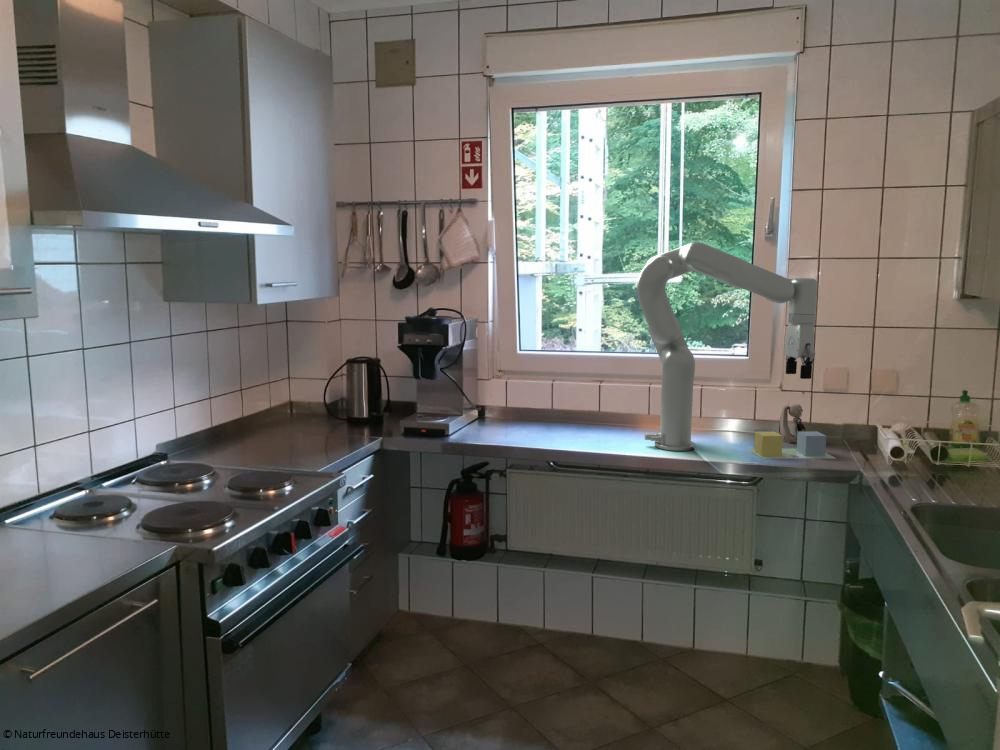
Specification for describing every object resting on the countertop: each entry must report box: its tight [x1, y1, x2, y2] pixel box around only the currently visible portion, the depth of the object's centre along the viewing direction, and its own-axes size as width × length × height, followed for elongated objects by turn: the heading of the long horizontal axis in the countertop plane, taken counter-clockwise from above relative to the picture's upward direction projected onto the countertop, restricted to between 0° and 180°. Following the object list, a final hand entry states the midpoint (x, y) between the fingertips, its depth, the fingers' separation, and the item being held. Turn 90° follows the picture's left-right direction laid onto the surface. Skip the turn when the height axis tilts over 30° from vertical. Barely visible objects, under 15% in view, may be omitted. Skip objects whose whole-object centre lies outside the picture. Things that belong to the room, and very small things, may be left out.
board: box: [747, 448, 837, 460], centre depth 230 cm, size 22×12×1 cm, turn 93°
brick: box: [753, 431, 784, 456], centre depth 229 cm, size 6×6×6 cm
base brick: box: [795, 430, 827, 456], centre depth 230 cm, size 6×6×6 cm
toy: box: [778, 401, 808, 444], centre depth 247 cm, size 9×8×15 cm
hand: (798, 376), depth 234 cm, fingers open, 9 cm apart
